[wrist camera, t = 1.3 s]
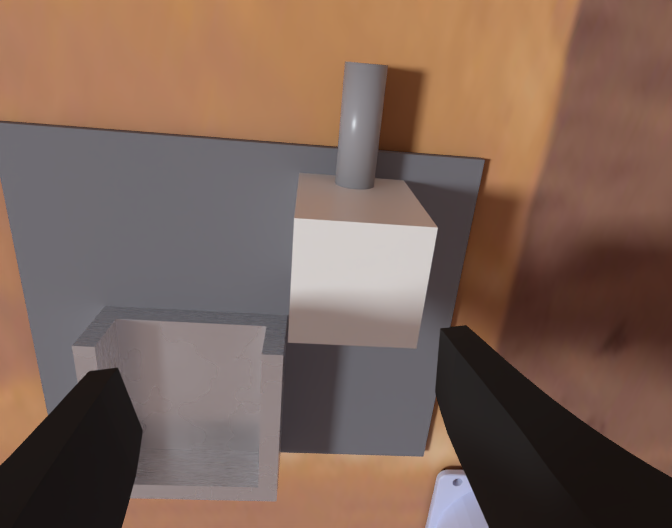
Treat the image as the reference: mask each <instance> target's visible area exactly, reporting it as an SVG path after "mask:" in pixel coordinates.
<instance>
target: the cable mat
mask: <svg viewBox="0 0 672 528" xmlns="http://www.w3.org/2000/svg"><path fill="white" fill-rule="evenodd" d="M337 153H338V147H333V146H320V145H307V144H294V143H281V142H268V141H255V140H242V139H229V138H216V137H203V136H190V135H177V134H164V133H151V132H138V131H125V130H112V129H99V128H86V127H73V126H60V125H47V124H34V123H22V122H9V121H0V178H1V183H2V188H3V193H4V198H5V203H6V208H7V213H8V218H9V223H10V228H11V233H12V238H13V243H14V248H15V253H16V258H17V263H18V268H19V273H20V278H21V283H22V288H23V293H24V298H25V303H26V308H27V313H28V318H29V323H30V328H31V333H32V338H33V343H34V348H35V353H36V358H37V363H38V368H39V373H40V378H41V383H42V388H43V393H44V398H45V403H46V408H47V413H48V415H49V414H50V413H51V412H52V411H53V410H54V408H55V407H56V406H57V405H58V404H59V403H60V402H61V401H62V400H63V399H64V397H65V396H66V395H67V394H68V393H69V392H70V391H71V390H72V389H73V388H74V386H75V385H76V384H77V383H78V382H77V375H76V369H75V363H74V357H73V351H72V345H73V344H74V343H75V341H76V340H77V339H78V338H79V337H80V335H81V334H82V333H83V332H84V331H85V329H86V328H87V327H88V326H89V325H90V323H91V322H92V321H93V320H94V319H95V317H96V316H97V315H98V314H99V313H100V311H101V310H102V309H103V308H104V307H105V306H118V307H138V308H158V309H177V310H197V311H217V312H236V313H256V314H276V315H287V331H286V352H285V372H284V393H283V413H282V434H281V452H289V453H323V454H356V455H390V456H424V451H425V446H426V441H427V436H428V432H429V427H430V422H431V417H432V412H433V408H434V403H435V398H436V394H435V386H436V374H437V361H438V349H439V337H440V328H448V327H450V326H451V321H452V316H453V311H454V306H455V301H456V297H457V292H458V287H459V282H460V277H461V273H462V268H463V263H464V258H465V253H466V248H467V244H468V239H469V234H470V229H471V224H472V220H473V215H474V210H475V205H476V200H477V195H478V191H479V186H480V181H481V176H482V171H483V166H484V162H485V160H484V159H482V158H475V157H462V156H449V155H436V154H423V153H410V152H397V151H384V150H378V156H377V164H376V173H375V178H380V179H393V180H404V181H405V183H406V184H407V186H408V187H409V188H410V190H411V191H412V193H413V194H414V195H415V197H416V198H417V199H418V201H419V202H420V204H421V205H422V206H423V208H424V209H425V211H426V212H427V213H428V215H429V216H430V217H431V219H432V220H433V222H434V223H435V224H436V226H437V227H438V230H437V235H436V241H435V247H434V252H433V258H432V263H431V269H430V275H429V280H428V286H427V291H426V297H425V303H424V308H423V314H422V319H421V325H420V331H419V336H418V342H417V348H416V349H414V348H393V347H371V346H350V345H328V344H307V343H288V329H289V309H290V289H291V269H292V250H293V230H294V215H295V206H296V198H297V189H298V181H299V173H311V174H325V175H336V165H337Z"/></svg>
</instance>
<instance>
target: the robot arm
mask: <svg viewBox="0 0 672 528" xmlns="http://www.w3.org/2000/svg"><path fill="white" fill-rule="evenodd" d="M435 394H436V397H437V401H438V404H439V407H440V411H441V414H442V417H443V421H444V424H445V427H446V430H447V433H448V435H449V438H450V440H451V443H452V445H453V447H454V449H455V452H456V454H457V456H458V459H459V461H460V463H461V466H462V468H463V470H443V471H441V472H440V473H439V474H438V475H437V479H436V483H435V487H434V492H433V496H432V501H431V505H430V509H429V514H428V518H427V523H426V527H425V528H672V477H670V476H668V475H666V474H665V473H663V472H661V471H659V470H657V469H656V468H654V467H652V466H651V465H649V464H647V463H646V462H644V461H642V460H641V459H639V458H637V457H636V456H634V455H633V454H631V453H629V452H628V451H626V450H625V449H623V448H622V447H620V446H619V445H617V444H616V443H614V442H613V441H611V440H609V439H608V438H606V437H605V436H603V435H602V434H600V433H599V432H597V431H596V430H594V429H593V428H591V427H590V426H589V425H587V424H586V423H584V422H583V421H581V420H580V419H579V418H577V417H576V416H575V415H573V414H572V413H571V412H569V411H568V410H567V409H565V408H564V407H563V406H561V405H560V404H559V403H557V402H556V401H555V400H553V399H552V398H551V397H549V396H548V395H547V394H546V393H544V392H543V391H542V390H541V389H539V388H538V387H537V386H536V385H535V384H533V383H532V382H531V381H530V380H529V379H527V378H526V377H525V376H524V375H522V374H521V373H520V372H519V371H518V370H517V369H515V368H514V367H513V366H512V365H511V364H510V363H508V362H507V361H506V360H505V359H504V358H503V357H502V356H500V355H499V354H498V353H497V352H496V351H495V350H494V349H492V348H491V347H490V346H489V345H488V344H487V343H486V342H485V341H483V340H482V339H481V338H480V337H479V336H478V335H477V334H476V333H474V332H473V331H472V330H471V329H470V328H469V327H467V326H466V325H464V326H456V327H448V328H440V337H439V349H438V361H437V374H436V386H435ZM142 433H143V430H142V427H141V424H140V422H139V419H138V417H137V414H136V412H135V409H134V407H133V404H132V402H131V399H130V397H129V394H128V392H127V389H126V387H125V384H124V382H123V379H122V377H121V374H120V372H119V369H118V368H110V369H101V370H93V371H89V372H88V373H87V374H86V375H85V376H84V377H83V378H82V379H81V380H80V381H79V382H78V383H77V384H76V385H75V386H74V388H73V389H72V390H71V391H70V392H69V393H68V394H67V395H66V396H65V397H64V399H63V400H62V401H61V402H60V403H59V404H58V405H57V406H56V407H55V408H54V410H53V411H52V412H51V413H50V414H49V415H48V416H47V417H46V418H45V419H44V420H43V422H42V423H41V424H40V425H39V426H38V427H37V428H36V429H35V430H34V431H33V432H32V433H31V434H30V435H29V436H28V438H27V439H26V440H25V441H24V442H23V443H22V444H21V445H20V446H19V447H18V448H17V449H16V450H15V451H14V452H13V453H12V455H11V456H10V457H9V458H8V459H7V460H6V461H4V462H3V463H2V464H1V465H0V528H122V524H123V521H124V518H125V514H126V510H127V507H128V503H129V500H130V496H131V493H132V489H133V485H134V482H135V478H136V473H137V467H138V461H139V455H140V448H141V440H142ZM455 479H457V480H455Z"/></svg>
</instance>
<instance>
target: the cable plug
mask: <svg viewBox="0 0 672 528" xmlns="http://www.w3.org/2000/svg"><path fill="white" fill-rule="evenodd" d="M387 70H388V65H378V64H367V63H356V62H345V70H344V82H343V94H342V106H341V117H340V129H339V141H338V153H337V165H336V175H325V174H311V173H299V181H298V189H297V198H296V206H295V215H294V230H293V250H292V269H291V289H290V309H289V329H288V343H307V344H328V345H350V346H371V347H393V348H414V349H416V348H417V342H418V336H419V331H420V325H421V319H422V314H423V308H424V303H425V297H426V291H427V286H428V280H429V275H430V269H431V263H432V258H433V252H434V247H435V241H436V235H437V230H438V227H437V226H436V224H435V223H434V222H433V220H432V219H431V217H430V216H429V215H428V213H427V212H426V211H425V209H424V208H423V206H422V205H421V204H420V202H419V201H418V199H417V198H416V197H415V195H414V194H413V193H412V191H411V190H410V188H409V187H408V186H407V184H406V183H405V181H404V180H393V179H380V178H375V173H376V164H377V156H378V147H379V139H380V130H381V122H382V113H383V105H384V96H385V87H386V79H387Z"/></svg>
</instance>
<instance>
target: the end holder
mask: <svg viewBox="0 0 672 528" xmlns="http://www.w3.org/2000/svg"><path fill="white" fill-rule="evenodd" d="M286 331H287V315H276V314H256V313H236V312H217V311H197V310H177V309H158V308H138V307H118V306H105V307H104V308H103V309H102V310H101V311H100V313H99V314H98V315H97V316H96V317H95V319H94V320H93V321H92V322H91V323H90V325H89V326H88V327H87V328H86V329H85V331H84V332H83V333H82V334H81V335H80V337H79V338H78V339H77V340H76V341H75V343H74V344H73V345H72V351H73V357H74V363H75V369H76V375H77V382H79V381H80V380H81V379H82V378H83V377H84V376H85V375H86V374H87V373H88V372H89V371H93V370H101V369H110V368H118V369H119V372H120V374H121V377H122V379H123V382H124V384H125V387H126V389H127V392H128V394H129V397H130V399H131V402H132V404H133V407H134V409H135V412H136V414H137V417H138V419H139V422H140V424H141V427H142V430H143V433H142V440H141V448H140V455H139V461H138V467H137V473H136V478H135V482H134V485H133V489H132V493H131V496H130V498H146V499H192V500H237V501H276V500H277V488H278V476H279V464H280V452H281V434H282V413H283V393H284V372H285V352H286Z"/></svg>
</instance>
